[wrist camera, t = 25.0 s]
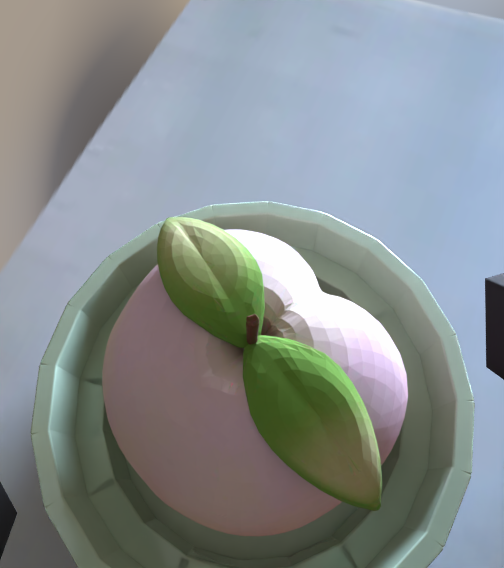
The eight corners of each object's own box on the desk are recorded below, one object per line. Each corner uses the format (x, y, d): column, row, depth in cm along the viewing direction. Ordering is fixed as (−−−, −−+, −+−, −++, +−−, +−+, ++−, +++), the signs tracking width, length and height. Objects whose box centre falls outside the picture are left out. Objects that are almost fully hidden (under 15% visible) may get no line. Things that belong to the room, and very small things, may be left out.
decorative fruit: (102, 395, 19) (-44, 311, 10) (241, 272, 21) (229, 110, 12) (259, 583, 16) (263, 717, 7) (399, 417, 18) (543, 350, 9)
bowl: (29, 545, 17) (-54, 567, 12) (152, 234, 23) (126, 171, 18) (401, 658, 15) (462, 731, 11) (433, 295, 21) (481, 243, 17)
